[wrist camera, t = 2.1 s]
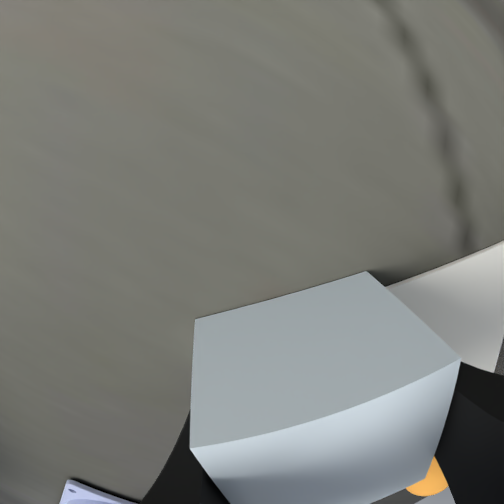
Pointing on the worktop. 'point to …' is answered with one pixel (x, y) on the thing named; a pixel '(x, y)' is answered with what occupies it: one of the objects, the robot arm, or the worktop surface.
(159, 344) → the worktop surface
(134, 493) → the worktop surface
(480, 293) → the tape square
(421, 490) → the ball
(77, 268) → the worktop surface
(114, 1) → the worktop surface
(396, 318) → the white box
